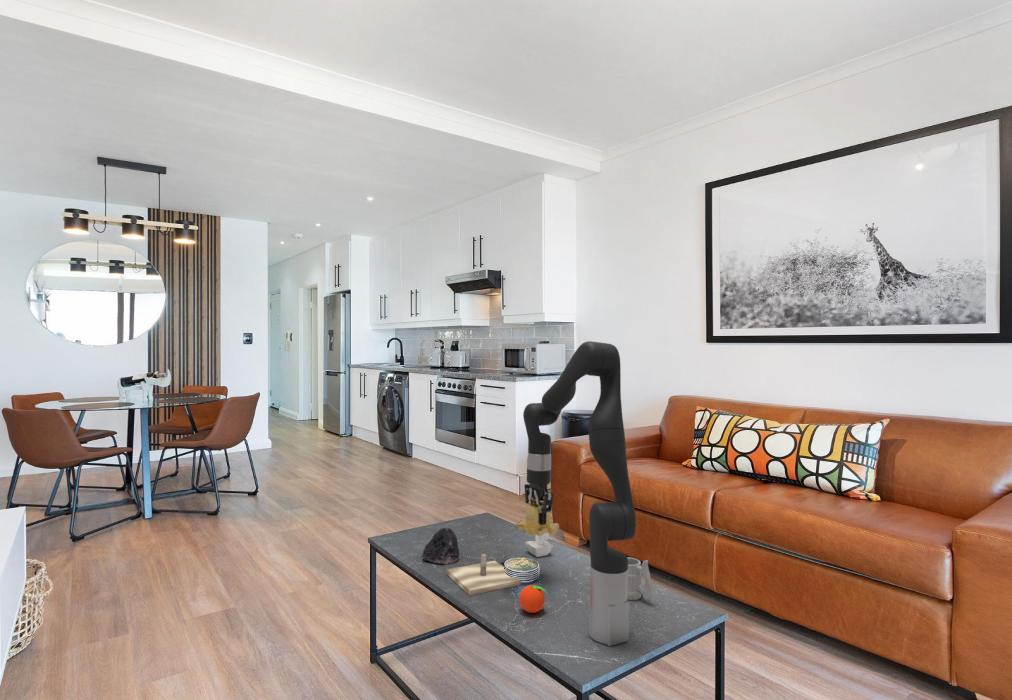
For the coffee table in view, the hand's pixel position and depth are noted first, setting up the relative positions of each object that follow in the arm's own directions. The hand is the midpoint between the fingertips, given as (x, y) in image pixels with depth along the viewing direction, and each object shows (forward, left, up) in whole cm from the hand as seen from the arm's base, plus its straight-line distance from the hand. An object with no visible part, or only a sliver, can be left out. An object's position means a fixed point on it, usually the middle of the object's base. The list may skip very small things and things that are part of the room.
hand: (537, 521), depth 177 cm
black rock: (+28, +20, -18) cm, 39 cm away
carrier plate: (+6, +15, -18) cm, 24 cm away
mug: (-24, -19, -18) cm, 35 cm away
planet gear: (0, 0, -2) cm, 2 cm away
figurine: (+17, -12, -18) cm, 27 cm away
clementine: (-19, +12, -18) cm, 29 cm away
